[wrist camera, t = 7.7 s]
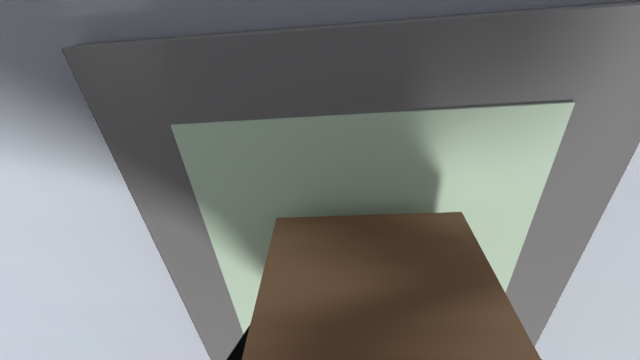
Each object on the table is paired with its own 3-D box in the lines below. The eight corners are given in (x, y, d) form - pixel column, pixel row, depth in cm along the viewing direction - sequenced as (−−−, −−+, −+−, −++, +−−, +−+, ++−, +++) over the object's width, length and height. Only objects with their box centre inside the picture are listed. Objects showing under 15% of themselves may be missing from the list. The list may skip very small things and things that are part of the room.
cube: (461, 211, 8) (587, 445, 4) (437, 324, 11) (500, 535, 7) (276, 217, 9) (222, 437, 5) (296, 325, 12) (274, 526, 7)
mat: (685, -3, 7) (716, -1, 6) (518, 352, 14) (525, 367, 14) (78, 44, 8) (59, 49, 7) (217, 352, 15) (213, 367, 15)
